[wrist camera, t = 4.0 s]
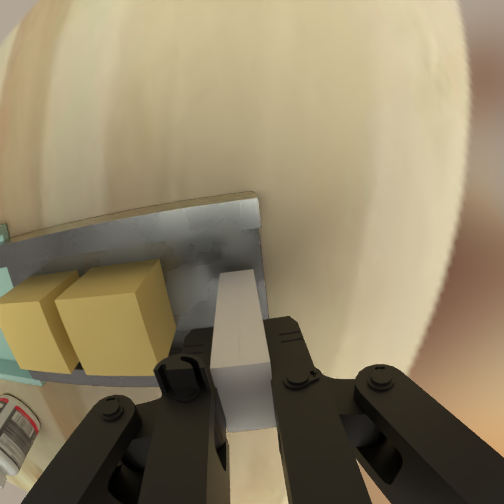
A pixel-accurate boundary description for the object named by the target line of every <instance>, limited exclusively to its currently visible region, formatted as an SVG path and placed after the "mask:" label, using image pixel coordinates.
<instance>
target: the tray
mask: <svg viewBox="0 0 504 504" xmlns="http://www.w3.org/2000/svg"><path fill="white" fill-rule="evenodd" d="M8 238H9V235H8V230H7V226H6V223H5V224H2V225H0V242H2V241H4V240H6V239H8ZM11 289H13V285H12V282H11V278H10V275H9V272H8V269H7V267H4V268H0V297H2V296H3V295H4V294H6V293H7V292H9V291H10V290H11ZM0 379H4V380H9V381H14V382H20V383H25V384H31V385H38V386H43V385H44V384H45V382H46V381H41V380H34V379H33V378H32V376H31V374H30V373H29V371H28V370H25V369H21V368H20V367H19V365H18V363H17V361H16V359H15V357H14V355H13V353H12V351H11V349H10V347H9V345H8V343H7V341H6V339H5V337H4V334H3V332H2V330H1V328H0Z"/></svg>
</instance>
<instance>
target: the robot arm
mask: <svg viewBox="0 0 504 504" xmlns="http://www.w3.org/2000/svg"><path fill="white" fill-rule="evenodd" d="M153 372H154V374H155V377H156V379H157V382H158V384H159V387H160V389H161V391H162V397H161V398H159V399H157V400H154V401H151V402H147V403H142V404H138V405H135V404H134V403H133V402H132V400H131V399H130V398H128V397H126V396H123V395H113V396H108V397H106V398H104V399H102V400H100V401H99V402H97V403H96V404H95V405H94V406H93V408H92V409H91V410H90V411H89V413H88V414H87V415H86V417H85V418H84V419H83V420H82V422H81V423H80V424H79V426H78V427H77V428H76V430H75V431H74V432H73V433H72V435H71V436H70V437H69V439H68V440H67V441H66V443H65V444H64V445H63V447H62V448H61V449H60V451H59V452H58V453H57V455H56V456H55V457H54V459H53V460H52V461H51V463H50V464H49V465H48V467H47V468H46V469H45V471H44V472H43V473H42V475H41V476H40V478H39V479H38V480H37V482H36V483H35V484H34V486H33V487H32V489H31V490H30V491H29V493H28V494H27V496H26V497H25V498H24V500H23V501H22V503H21V504H230V473H229V445H228V441H227V438H226V427H227V430H228V432H238V431H249V430H258V429H266V428H273V427H277V432H278V441H279V450H280V454H281V460H282V466H283V472H284V478H285V484H286V490H287V496H288V502H289V504H372V502H371V499H370V497H369V494H368V491H367V488H366V485H365V483H364V480H363V478H362V475H361V472H360V469H359V466H358V464H357V461H358V462H359V463H360V464H361V466H362V467H363V468H364V470H365V471H366V472H367V474H368V475H369V476H370V477H371V479H372V480H373V481H374V482H375V484H376V485H377V486H378V488H379V489H380V490H381V491H382V493H383V494H384V495H385V496H386V498H387V499H388V500H389V501H390V503H391V504H504V458H503V457H502V456H501V455H500V454H499V453H498V452H496V451H495V450H494V449H493V448H492V447H491V446H489V445H488V444H487V443H486V442H485V441H483V440H482V439H481V438H480V437H479V436H477V435H476V434H475V433H474V432H473V431H472V430H470V429H469V428H468V427H467V426H466V425H464V424H463V423H462V422H461V421H460V420H459V419H457V418H456V417H455V416H454V415H453V414H451V413H450V412H449V411H448V410H447V409H445V408H444V407H443V406H442V405H441V404H439V403H438V402H437V401H436V400H435V399H434V398H432V397H431V396H430V395H429V394H428V393H426V392H425V391H424V390H423V389H422V388H420V387H419V386H418V385H417V384H415V382H413V381H412V380H411V379H410V378H409V377H407V376H406V375H405V374H404V373H403V372H401V371H400V370H398V369H397V368H395V367H393V366H389V365H385V364H376V365H372V366H368V367H366V368H364V369H363V370H361V371H360V372H359V373H358V375H357V376H356V379H334V378H330V377H327V376H325V375H323V374H322V373H321V371H320V370H319V369H317V368H315V366H314V364H313V362H312V359H311V356H310V354H309V351H308V349H307V346H306V343H305V341H304V339H303V336H302V333H301V330H300V328H299V325H298V323H297V322H296V321H295V320H294V319H292V318H291V317H290V316H286V317H279V318H272V319H265V320H262V314H261V309H260V303H259V298H258V293H257V287H256V282H255V276H254V271H253V269H249V270H242V271H234V272H226V273H220V276H219V285H218V294H217V303H216V312H215V322H214V327H207V328H197V329H192V330H191V331H190V332H189V333H188V334H187V335H186V337H185V339H184V343H183V348H182V351H181V354H176V355H171V356H169V357H167V358H164V359H163V360H161V361H160V362H159V363H158V364H157V365H156V366H155V368H154V369H153ZM356 459H357V461H356Z"/></svg>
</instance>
